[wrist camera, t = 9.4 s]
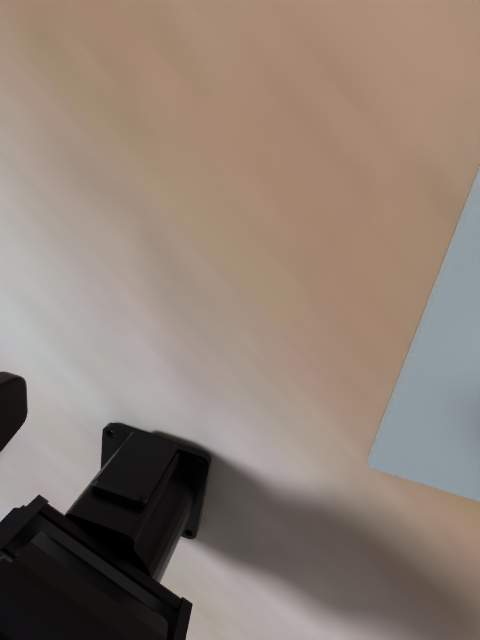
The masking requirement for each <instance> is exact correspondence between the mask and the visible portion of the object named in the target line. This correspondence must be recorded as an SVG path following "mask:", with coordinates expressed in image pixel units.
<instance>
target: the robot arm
mask: <svg viewBox="0 0 480 640" xmlns="http://www.w3.org/2000/svg"><path fill="white" fill-rule="evenodd" d="M27 411H28V409H27V387H26V381H25V379H24V378H23V377H21V376H18V375H15V374H12V373H9V372H0V452H1V451H2V450H3V448H4V447H5V446H6V445H7V443H8V442H9V441H10V440H11V439H12V437H13V436H14V435H15V434H16V432H17V431H18V430H19V429H20V427H21V426H22V425H23V423H24V421H25V419H26V417H27ZM111 431H112V432H113V433H112V432H111ZM200 460H202V461H204V462H201V461H200ZM210 467H211V457H210V456H209V455H208V454H207V453H205V452H203V451H200V450H197V449H194V448H191V447H187V446H184V445H181V444H178V443H175V442H172V441H169V440H166V439H163V438H159V437H156V436H153V435H150V434H147V433H144V432H141V431H138V430H135V429H131V428H128V427H125V426H122V425H119V424H116V423H109V424H108V425H107V426H106V427H105V428H104V429H103V434H102V455H101V470H100V471H99V472H98V474H97V475H96V476H95V477H94V479H93V480H92V481H91V482H90V484H89V485H88V486H87V487H86V489H85V490H84V491H83V492H82V494H81V495H80V496H79V497H78V499H77V500H76V501H75V502H74V503H73V505H72V506H71V507H70V508H69V510H68V511H67V512H66V513H65V515H63V514H62V513H61V512H59V511H58V510H56V509H55V508H54V507H52V506H51V505H49V504H48V502H49V501H48V500H46V499H45V498H44V497H42V496H41V495H38V496H37V497H36V498H35V499H34V500H33V501H32V502H31V503H30V504H28V505H27V506H24V505H23V506H21V507H20V508H13V509H12V511H11V512H10V513H9V514H8V515H7V516H6V517H5V518H4V519H3V520H2V521H1V522H0V640H185V639H186V634H187V629H188V624H189V619H190V615H191V610H192V603H191V602H189V601H188V600H186V599H185V598H184V597H182V598H180V597H178V596H177V595H176V594H174V593H173V592H171V591H170V590H168V589H167V588H166V587H164V586H163V585H161V584H160V581H161V579H162V577H163V575H164V572H165V570H166V568H167V566H168V563H169V561H170V559H171V557H172V555H173V552H174V550H175V548H176V546H177V543H178V541H179V539H180V537H181V536H182V537H185V538H187V539H194V538H195V537H196V535H197V533H198V530H199V525H200V520H201V515H202V509H203V504H204V499H205V493H206V488H207V483H208V477H209V472H210Z"/></svg>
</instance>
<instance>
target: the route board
mask: <svg viewBox="0 0 480 640" xmlns="http://www.w3.org/2000/svg"><path fill="white" fill-rule="evenodd" d="M368 465H369V468H372V469H375V470H378V471H381V472H385V473H388V474H391V475H394V476H398V477H401V478H404V479H407V480H411V481H414V482H417V483H420V484H424V485H427V486H430V487H433V488H437V489H440V490H443V491H446V492H450V493H453V494H456V495H459V496H463V497H466V498H469V499H472V500H476V501H479V502H480V167H479V170H478V173H477V175H476V178H475V180H474V183H473V186H472V188H471V191H470V193H469V196H468V199H467V201H466V204H465V206H464V209H463V212H462V214H461V217H460V219H459V222H458V225H457V227H456V230H455V232H454V235H453V238H452V240H451V243H450V245H449V248H448V250H447V253H446V256H445V258H444V261H443V263H442V266H441V269H440V271H439V274H438V276H437V279H436V282H435V284H434V287H433V289H432V292H431V295H430V297H429V300H428V302H427V305H426V308H425V310H424V313H423V315H422V318H421V321H420V323H419V326H418V328H417V331H416V334H415V336H414V339H413V341H412V344H411V346H410V349H409V352H408V354H407V357H406V359H405V362H404V365H403V367H402V370H401V372H400V375H399V378H398V380H397V383H396V385H395V388H394V391H393V393H392V396H391V398H390V401H389V404H388V406H387V409H386V411H385V414H384V417H383V419H382V422H381V424H380V427H379V430H378V432H377V435H376V437H375V440H374V443H373V445H372V448H371V450H370V453H369V455H368Z"/></svg>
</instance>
